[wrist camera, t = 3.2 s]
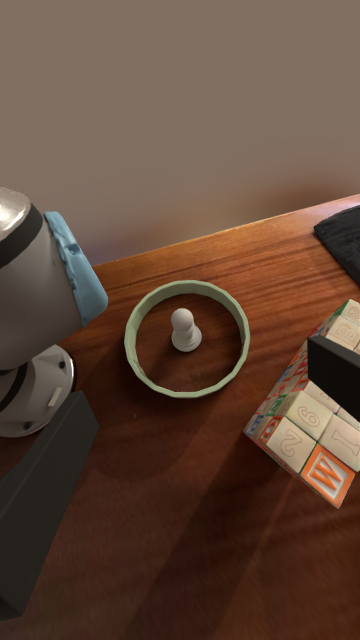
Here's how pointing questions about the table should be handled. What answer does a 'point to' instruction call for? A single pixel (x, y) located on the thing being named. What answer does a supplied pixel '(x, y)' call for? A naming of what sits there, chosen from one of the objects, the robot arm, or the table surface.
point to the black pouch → (343, 239)
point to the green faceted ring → (173, 290)
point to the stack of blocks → (312, 419)
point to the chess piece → (185, 331)
